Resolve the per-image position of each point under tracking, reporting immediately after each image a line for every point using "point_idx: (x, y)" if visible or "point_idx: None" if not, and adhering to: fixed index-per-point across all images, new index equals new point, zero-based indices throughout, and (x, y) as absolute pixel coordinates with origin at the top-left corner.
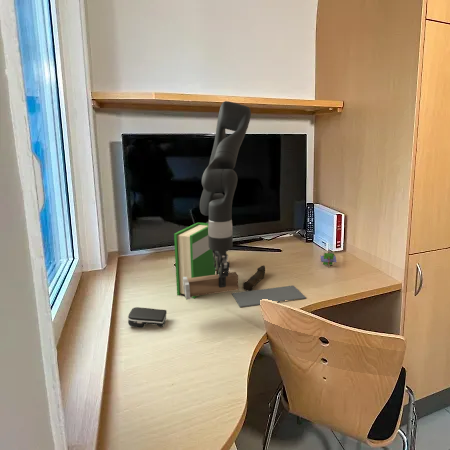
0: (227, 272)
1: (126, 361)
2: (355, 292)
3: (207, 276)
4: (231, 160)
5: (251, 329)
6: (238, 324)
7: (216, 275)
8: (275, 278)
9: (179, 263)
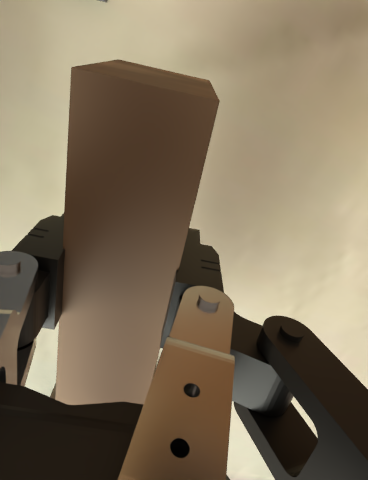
0: (359, 400)
1: (266, 472)
2: None
3: (74, 389)
4: None
5: (358, 77)
6: (275, 117)
7: (86, 323)
8: None
9: None
